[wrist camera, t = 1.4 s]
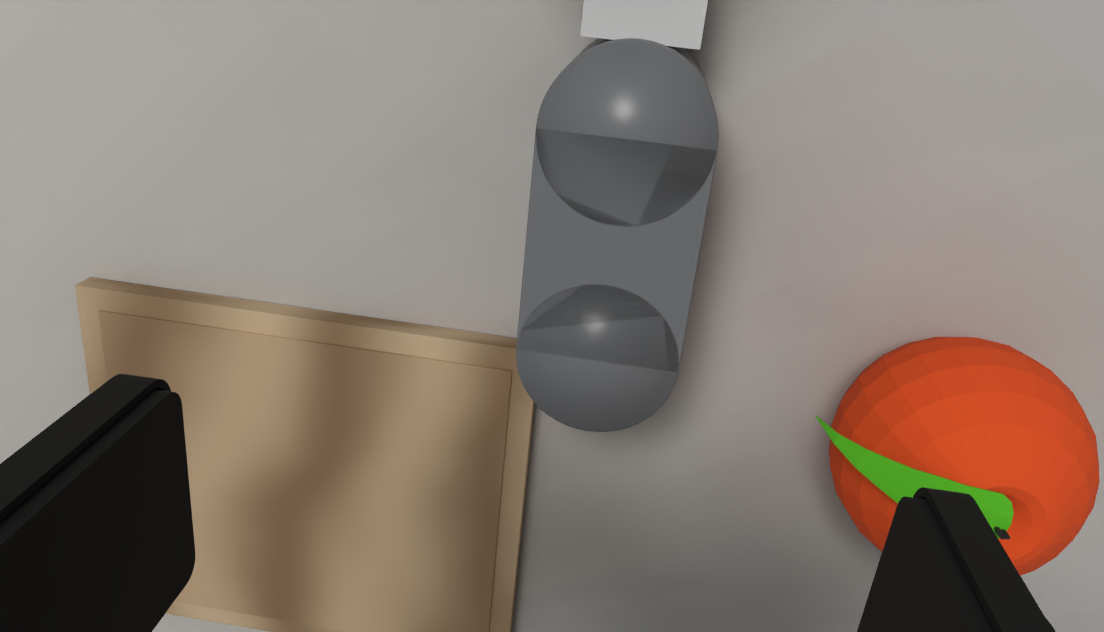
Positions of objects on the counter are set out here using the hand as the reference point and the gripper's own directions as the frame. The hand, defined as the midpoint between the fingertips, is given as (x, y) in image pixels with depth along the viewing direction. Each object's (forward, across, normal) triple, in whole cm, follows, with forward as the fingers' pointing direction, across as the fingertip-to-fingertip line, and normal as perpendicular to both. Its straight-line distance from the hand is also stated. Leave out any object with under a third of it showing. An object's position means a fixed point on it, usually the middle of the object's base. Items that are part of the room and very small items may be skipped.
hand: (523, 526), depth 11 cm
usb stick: (+17, -1, -1) cm, 17 cm away
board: (+17, +9, +12) cm, 23 cm away
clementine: (+16, -11, +5) cm, 20 cm away
